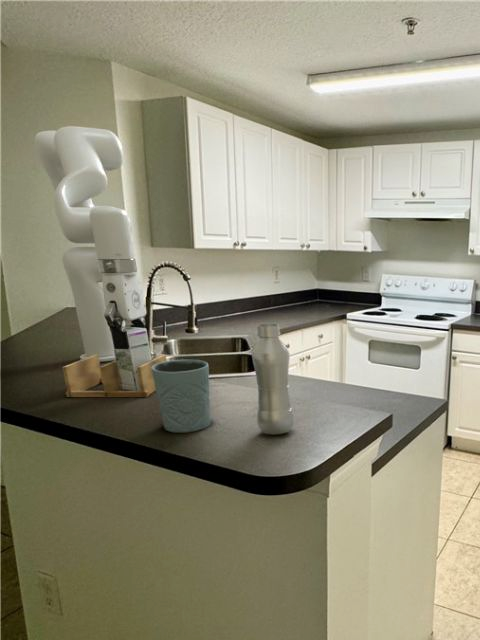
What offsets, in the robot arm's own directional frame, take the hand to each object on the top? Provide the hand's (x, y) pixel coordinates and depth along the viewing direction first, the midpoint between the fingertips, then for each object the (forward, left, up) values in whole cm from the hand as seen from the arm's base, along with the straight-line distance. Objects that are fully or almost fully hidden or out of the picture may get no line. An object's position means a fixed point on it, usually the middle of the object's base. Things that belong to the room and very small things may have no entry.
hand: (131, 344), depth 127 cm
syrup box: (0, 0, -11) cm, 11 cm away
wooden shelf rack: (0, -4, -11) cm, 11 cm away
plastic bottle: (+31, +40, -11) cm, 52 cm away
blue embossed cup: (+27, +22, -11) cm, 36 cm away
